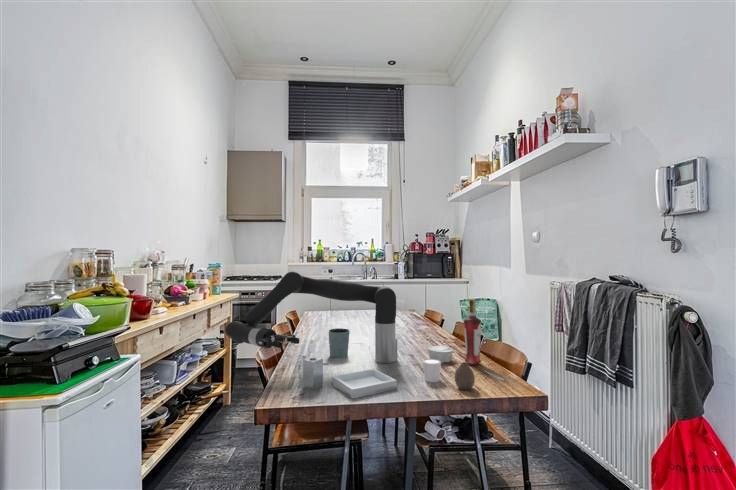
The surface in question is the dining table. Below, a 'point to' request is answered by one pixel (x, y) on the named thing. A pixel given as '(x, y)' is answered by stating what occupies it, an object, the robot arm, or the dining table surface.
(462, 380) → the grey egg-shaped piece
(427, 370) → the white cylinder
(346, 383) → the tray
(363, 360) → the dining table surface
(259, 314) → the robot arm
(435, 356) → the ramekin
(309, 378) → the steel block
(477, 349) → the liquor
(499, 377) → the butter knife
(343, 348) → the green cup
